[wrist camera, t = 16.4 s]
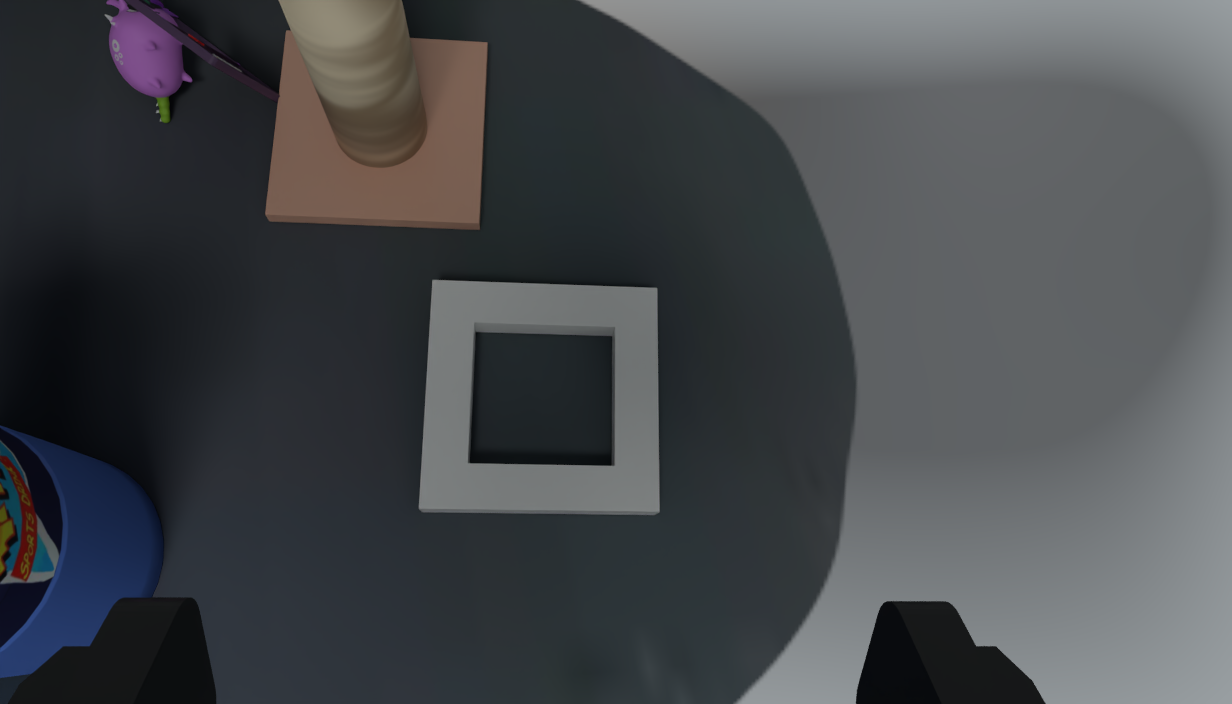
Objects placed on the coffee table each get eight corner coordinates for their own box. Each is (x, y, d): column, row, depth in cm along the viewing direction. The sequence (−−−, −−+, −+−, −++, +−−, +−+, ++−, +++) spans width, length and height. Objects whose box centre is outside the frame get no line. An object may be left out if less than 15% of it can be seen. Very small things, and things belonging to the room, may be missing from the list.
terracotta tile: (479, 229, 45) (479, 223, 44) (269, 221, 44) (265, 214, 44) (487, 51, 48) (487, 42, 47) (290, 39, 47) (286, 30, 46)
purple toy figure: (226, 43, 39) (68, -74, 40) (157, 143, 40) (2, 25, 40) (297, 88, 46) (160, -13, 47) (237, 173, 46) (103, 72, 47)
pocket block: (654, 515, 42) (659, 511, 41) (422, 512, 41) (418, 508, 40) (652, 298, 45) (657, 287, 44) (435, 290, 44) (432, 279, 43)
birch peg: (381, 185, 45) (335, 53, 34) (314, 127, 45) (248, -20, 34) (446, 124, 46) (421, -22, 35) (380, 68, 46) (335, -92, 36)
